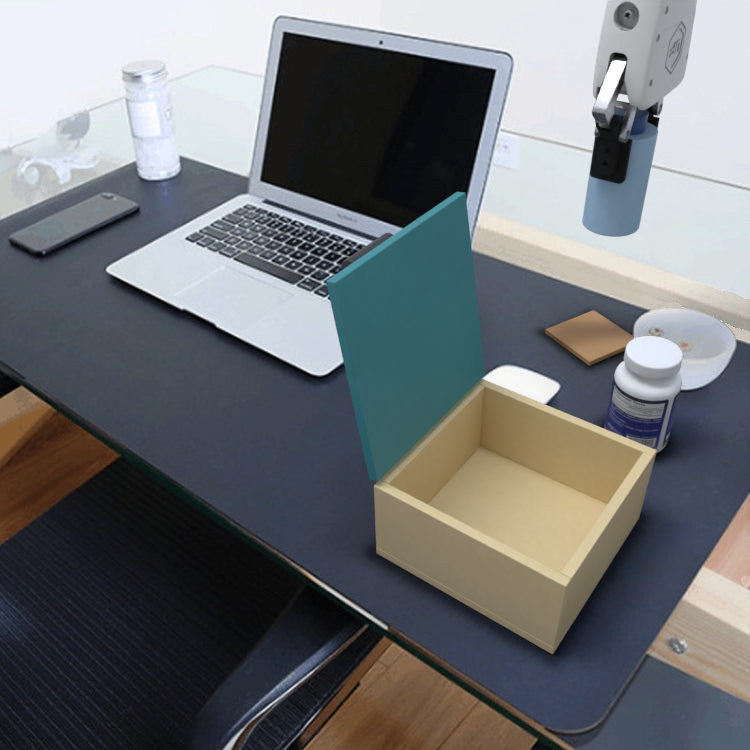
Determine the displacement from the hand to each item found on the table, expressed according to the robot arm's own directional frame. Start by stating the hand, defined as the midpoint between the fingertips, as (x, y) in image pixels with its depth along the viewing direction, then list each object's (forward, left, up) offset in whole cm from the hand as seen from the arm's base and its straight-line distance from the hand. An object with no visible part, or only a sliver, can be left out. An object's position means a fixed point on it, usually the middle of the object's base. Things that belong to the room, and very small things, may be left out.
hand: (621, 165), depth 74 cm
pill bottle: (-14, +7, -20) cm, 25 cm away
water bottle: (0, 0, -6) cm, 6 cm away
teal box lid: (-9, +28, -3) cm, 30 cm away
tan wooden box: (-17, +25, -20) cm, 36 cm away
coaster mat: (0, 0, -20) cm, 20 cm away
